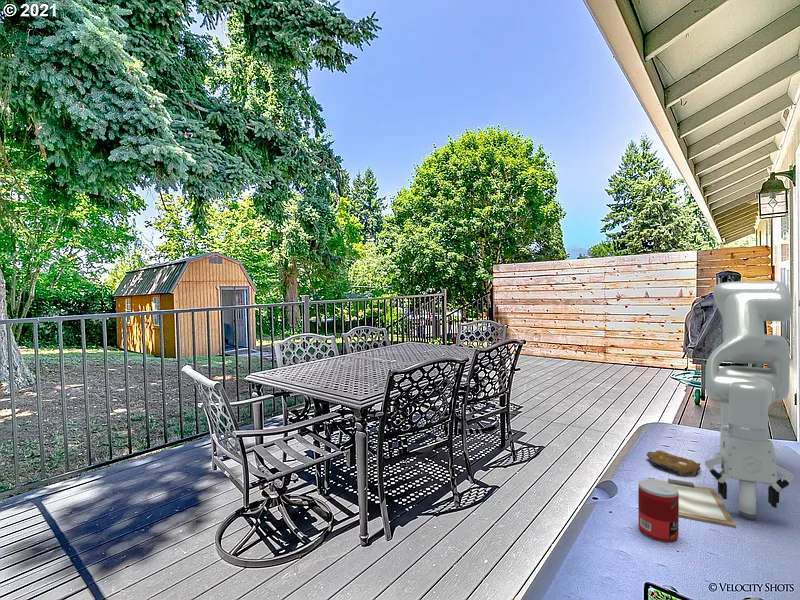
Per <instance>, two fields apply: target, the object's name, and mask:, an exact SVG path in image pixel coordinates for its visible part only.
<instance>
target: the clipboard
mask: <svg viewBox="0 0 800 600" xmlns="http://www.w3.org/2000/svg"><path fill="white" fill-rule="evenodd" d="M647 479H651V477H650V478H649V477H648V478H647ZM652 479H653V480H657V479H655V478H652ZM658 480H659V481H663V482H666V483H668V484H671V485H673V486H674V487H676V488H677V489H678V493H679V518H683V519H689V520H694V521H698V522H704V523H709V524H714V525H720V526H725V527H729V528H737V526H736V525H737V524H736V523H735V521H734V519H733V518H732V516H731V515H730V513H729V510H727V508H726V506H725V505H724V502H723V501H722V498H721V497H720V496H719V493H718V492H717V491H716V490H715V488H712V487H705V486H701V485H699V486H698V485H695V484H694V482H692V481H686V480H679V479H674V478H668V479H667V480H662V479H658Z"/></svg>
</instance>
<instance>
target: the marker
mask: <svg viewBox="0 0 800 600" xmlns="http://www.w3.org/2000/svg"><path fill="white" fill-rule="evenodd" d="M738 483H739V484H738V492H739V493H738V515H739V517H740V518H742V519H744V520H746V521H756V520H757V517H756V516H757V482H751V481H745V480H738Z"/></svg>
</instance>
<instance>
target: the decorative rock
mask: <svg viewBox="0 0 800 600" xmlns="http://www.w3.org/2000/svg"><path fill="white" fill-rule="evenodd" d="M646 456H647V458H648V460H649V461H650V462H651V463H653V464H657V465H658V466H659V467H662V468H663V469H666V470H667V469H670V470H672V471H673V472H676V473H677V474H679V475H680V476H681V477H686V476H687V477H692V478H697V476H698V475H699V471H700V470H701V463H699V462H696V461H694V460H692V459H691V458H690V459H688V458H684V457H682V456H677V455H674V454H671V453H668V452H666V451H664V450H656V451H648V452H647V453H646Z"/></svg>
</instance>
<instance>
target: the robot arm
mask: <svg viewBox="0 0 800 600" xmlns="http://www.w3.org/2000/svg"><path fill="white" fill-rule="evenodd" d="M712 294H713V295H712V296H713V300H714V303H715V305H716V307H717V309H718V311H719V314H721V318H722V333H723V334H722V343H721V344H720V345H718V346H717V347H716V348H715V349H713V351H712V352H711V353H710V354H709V356H708V358H707V360H706V364H705V379H704V381H705V382H704V385H705V386H704V388H705V393H706V396H707V397H708V399H709V400H711V401H713V402H714V403H720V433H719V434H720V436H719V437H720V438H719V439H720V447H719V448H720V452H716V453H715V454H714V458H711V459H707V460H704V465H705V466H706V468H707V469H708V471H709V473H710V475H712V476H713V477H714V478H715V480H717V494H718V495H720V496H721V497H722V498H721V499H723V500H727V499H728V484H727V482H726V481H728V480H729V479H730V478H731V479H733V480H738V481H739V480H745V481H751V482H756V483H759V484H767V485H769V486H768V488H767V490H768V491H767V501H768V503H769V505H771V507H772V508H775V509H777V508H778V504H780V493H781V492H782V491H783V489H785V488H787V487H788V486H789V485H790V483H792V480H793V479H794V478H795V475H794V473H792V472H791V471H789V470H788V469H786V468H783V467H781V466H780V465H778V464H777V459H776V458H777V457H776V450H775V446H774V443H773V441H771V440H770V439H769V407H770V406H771V405H772V403H774V402H775V400H776V401H782V400H785V399H787V398H788V396H789V392H790V384H791V383H790V377H791V376H790V373H791V372H790V371H791V370H790V369H791V367H790V365H791V364H790V360H791V358H790V357H791V355H790V354H791V353H790V352H791V351H790V346H789V342H788V341H787V339H786V338H785V337H783V336H781V335H777V334H769V333H768V334H767V333H766V334H765V323H764V322H787V321H789V320H790V319H791V317H792V316H793V313H794V312H793V310H794V303H793V299H792V295H791V292H790V290H789V287H787V285H786V284H785V283H784V282H783V281H779V280H777V281H776V280H767V281H766V280H765V281H764V280H761V281H759V280H758V281H757V280H755V281H742V280H741V281H725V282H720V283H717V284H716V285H715V286H714V287H713V290H712ZM725 360H727V361H730V362H733V363H740V364H751V365H766V366H768V367H769V368H766V367H753V366H743V365H726V366H724V367H722V368H720V369H719V366H720V365H721V364H722V362H724V361H725ZM718 465H720V467H721V470H720V471H719V472H718V471H717V470H716V469H715V466H718ZM778 473H779V474H781V475H782V477H781V478H780V479H778Z"/></svg>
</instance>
